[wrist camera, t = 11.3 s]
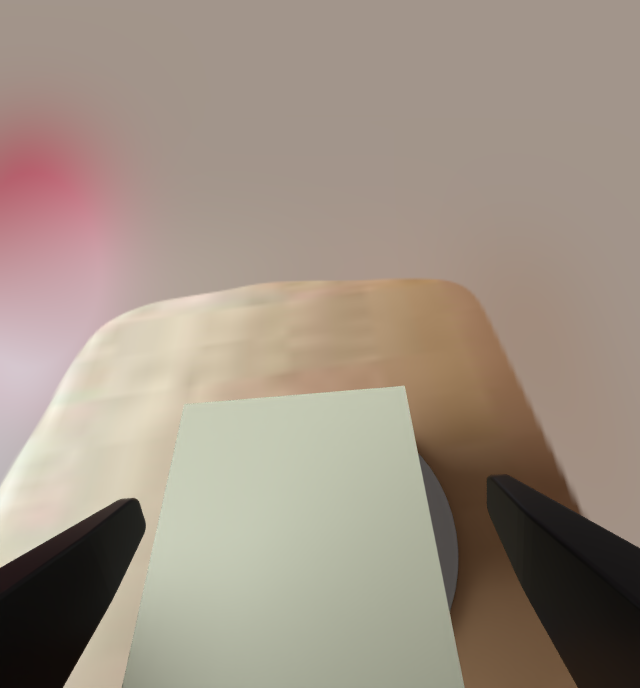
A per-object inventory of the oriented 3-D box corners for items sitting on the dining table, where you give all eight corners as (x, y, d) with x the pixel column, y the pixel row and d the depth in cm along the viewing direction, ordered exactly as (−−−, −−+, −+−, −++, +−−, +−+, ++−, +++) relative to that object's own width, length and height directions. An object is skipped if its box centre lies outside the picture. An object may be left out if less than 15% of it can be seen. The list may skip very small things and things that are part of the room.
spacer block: (398, 590, 13) (478, 755, 4) (287, 592, 13) (109, 741, 4) (382, 469, 16) (404, 385, 6) (289, 474, 16) (183, 404, 7)
